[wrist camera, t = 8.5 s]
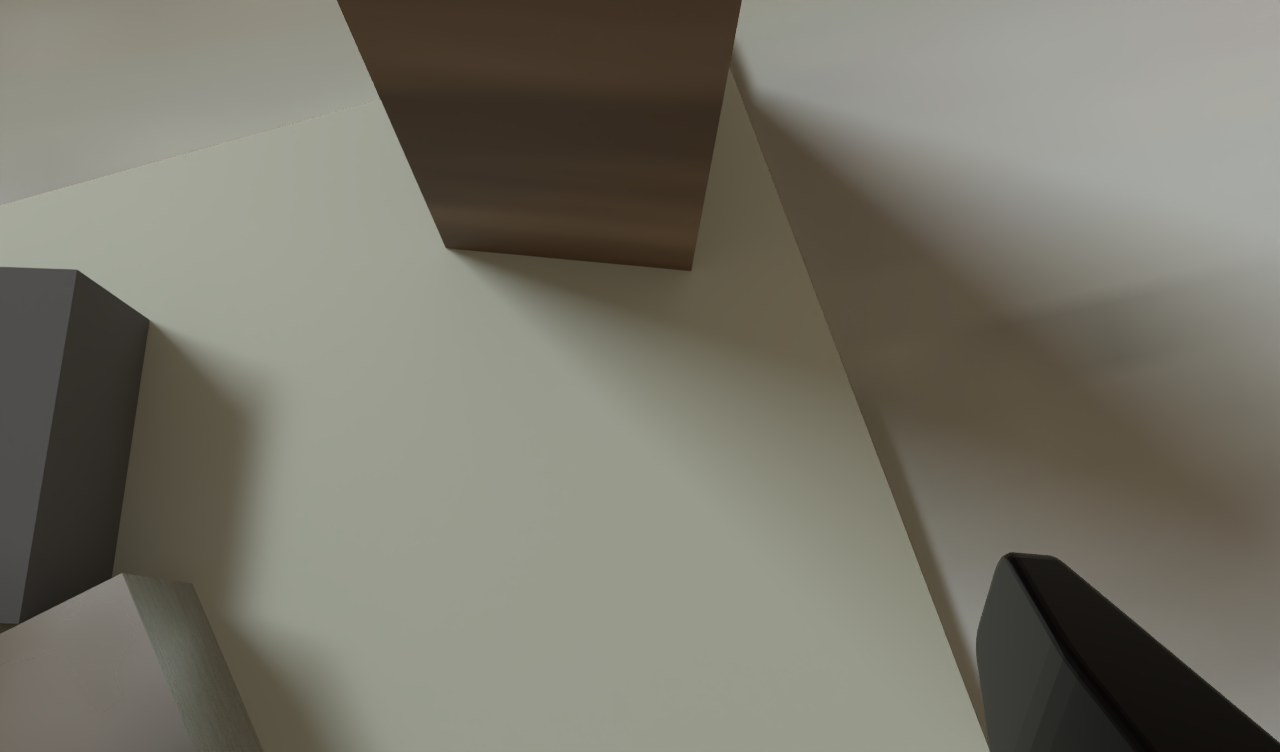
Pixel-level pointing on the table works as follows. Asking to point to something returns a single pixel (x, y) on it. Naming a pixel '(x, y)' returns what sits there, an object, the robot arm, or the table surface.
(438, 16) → the walnut post
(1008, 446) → the table surface
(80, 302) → the black rubber block
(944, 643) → the sage board
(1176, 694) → the robot arm
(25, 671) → the grey metal block
